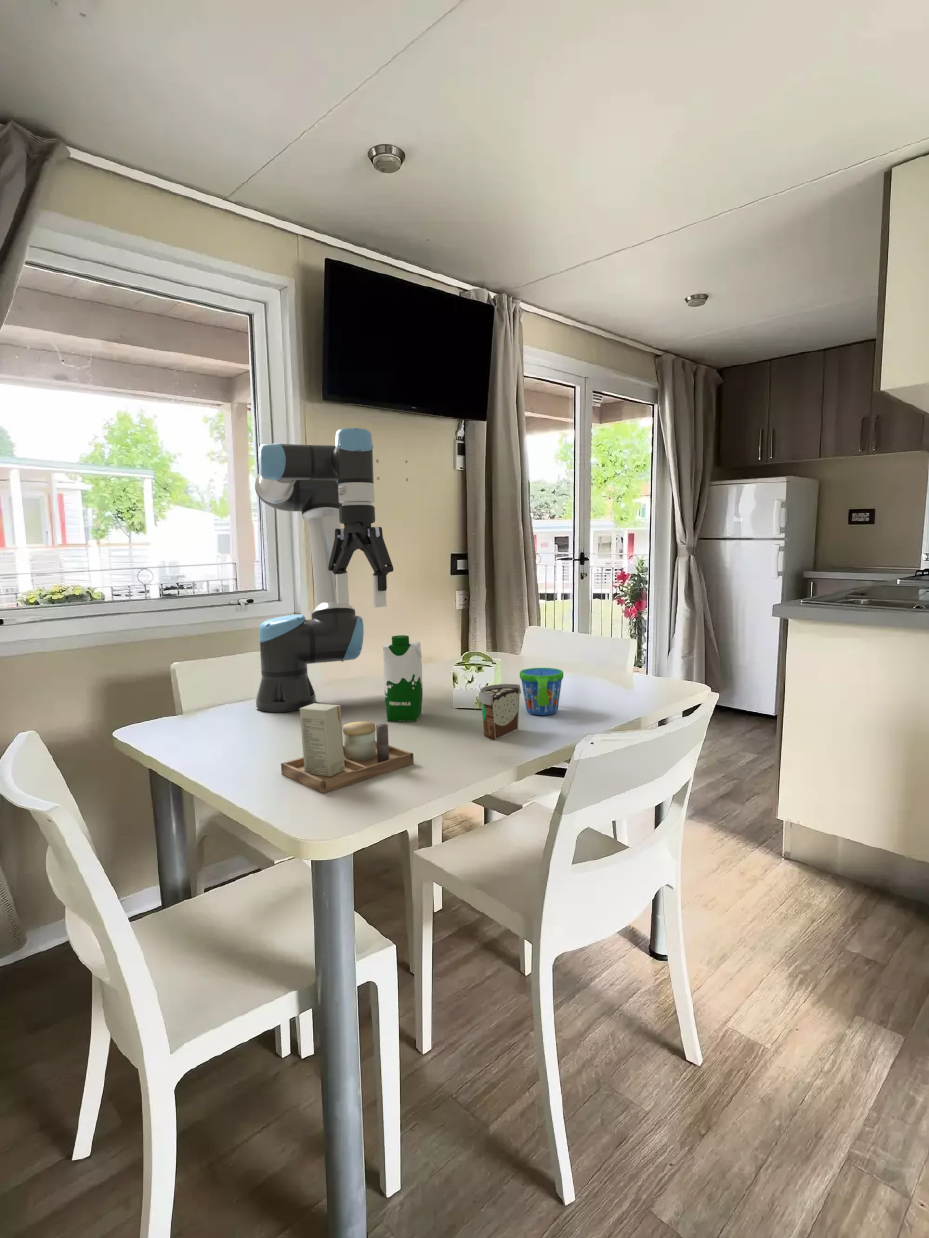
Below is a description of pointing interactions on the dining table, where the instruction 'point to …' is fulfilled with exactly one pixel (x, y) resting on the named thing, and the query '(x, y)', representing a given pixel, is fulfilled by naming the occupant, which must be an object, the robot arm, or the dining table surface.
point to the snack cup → (541, 689)
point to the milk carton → (402, 679)
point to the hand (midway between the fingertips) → (360, 605)
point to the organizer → (355, 758)
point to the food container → (500, 709)
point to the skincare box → (322, 739)
